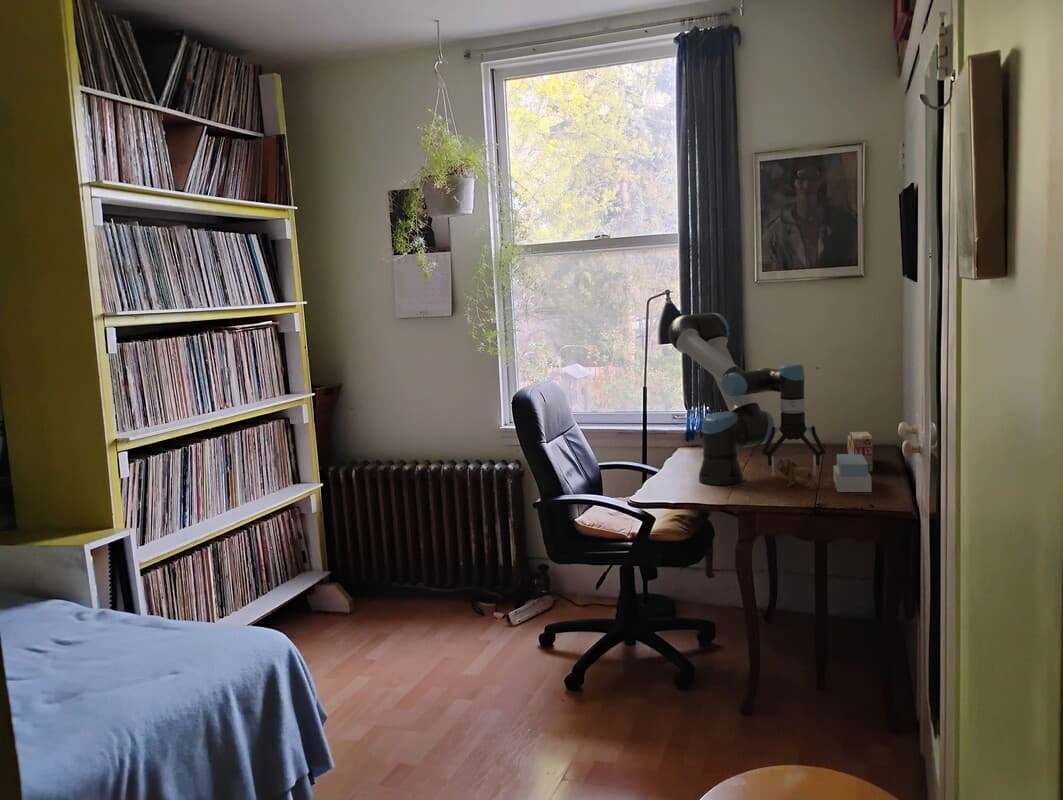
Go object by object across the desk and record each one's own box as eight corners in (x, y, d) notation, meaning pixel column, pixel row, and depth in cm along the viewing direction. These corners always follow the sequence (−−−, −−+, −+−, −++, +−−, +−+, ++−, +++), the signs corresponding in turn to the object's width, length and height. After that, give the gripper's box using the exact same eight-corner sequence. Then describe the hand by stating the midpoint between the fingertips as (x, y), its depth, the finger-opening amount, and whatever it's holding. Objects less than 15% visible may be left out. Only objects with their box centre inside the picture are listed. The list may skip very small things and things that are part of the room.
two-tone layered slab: (837, 492, 268) (837, 465, 267) (833, 479, 286) (833, 453, 284) (871, 493, 266) (871, 465, 264) (865, 479, 283) (865, 453, 282)
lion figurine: (774, 485, 283) (774, 458, 282) (782, 482, 287) (781, 456, 285) (816, 490, 273) (816, 463, 271) (823, 487, 276) (823, 460, 275)
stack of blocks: (847, 460, 315) (846, 427, 314) (865, 459, 314) (864, 427, 312) (854, 472, 295) (853, 437, 293) (873, 472, 293) (873, 437, 292)
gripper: (753, 413, 277) (755, 477, 280) (833, 412, 270) (834, 477, 273) (754, 410, 284) (755, 472, 287) (831, 409, 278) (832, 472, 280)
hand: (793, 475), depth 280 cm, fingers open, 12 cm apart
